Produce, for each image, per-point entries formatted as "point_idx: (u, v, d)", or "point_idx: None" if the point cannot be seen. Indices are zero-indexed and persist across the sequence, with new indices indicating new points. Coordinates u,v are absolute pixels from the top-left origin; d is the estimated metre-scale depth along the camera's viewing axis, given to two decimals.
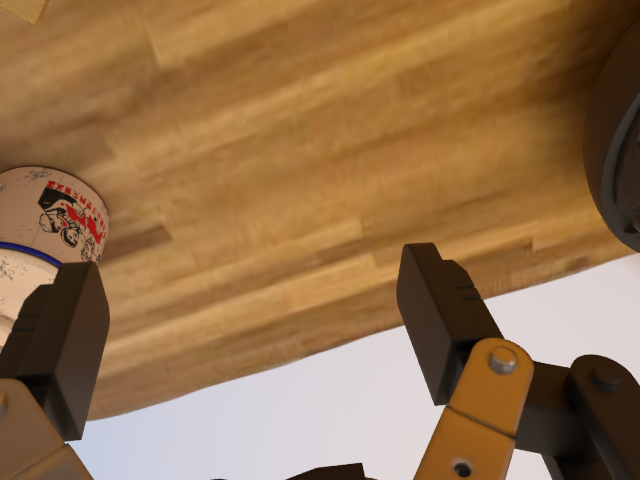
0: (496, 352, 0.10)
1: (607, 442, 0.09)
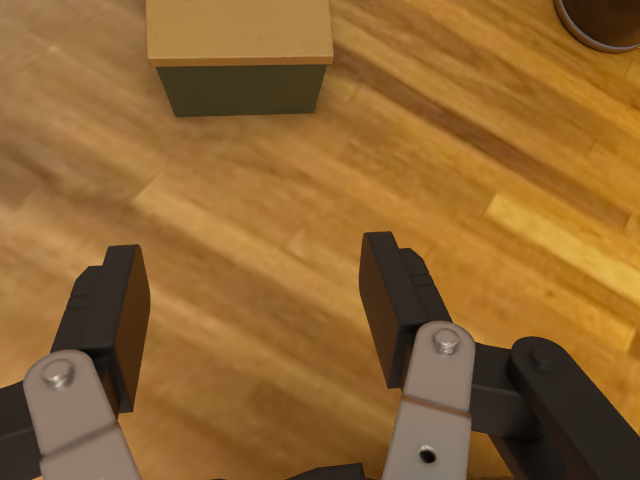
0: (439, 335, 0.11)
1: (555, 422, 0.09)
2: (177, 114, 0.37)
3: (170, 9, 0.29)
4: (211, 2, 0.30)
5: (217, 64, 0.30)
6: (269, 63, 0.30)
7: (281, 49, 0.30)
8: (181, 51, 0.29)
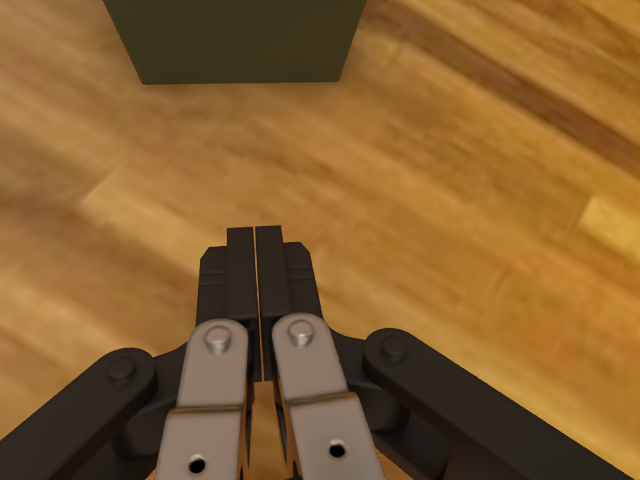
0: (293, 329, 0.11)
1: (428, 408, 0.10)
2: (144, 80, 0.26)
3: None
4: None
5: None
6: None
7: None
8: None
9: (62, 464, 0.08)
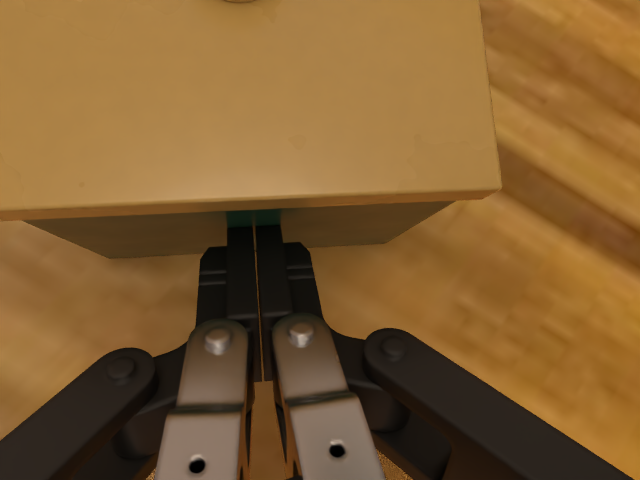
0: (294, 329, 0.11)
1: (428, 409, 0.10)
2: (110, 256, 0.18)
3: (40, 59, 0.10)
4: (162, 38, 0.10)
5: (178, 211, 0.11)
6: (322, 204, 0.11)
7: (359, 172, 0.11)
8: (68, 186, 0.10)
9: (62, 465, 0.08)
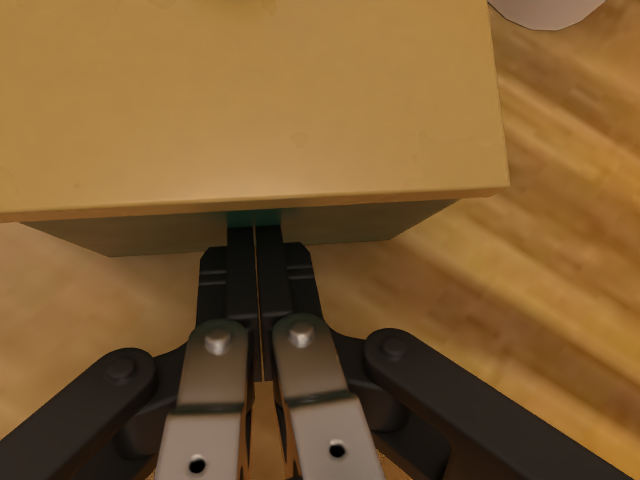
0: (293, 329, 0.11)
1: (429, 408, 0.10)
2: (110, 255, 0.18)
3: (32, 56, 0.10)
4: (158, 33, 0.10)
5: (177, 211, 0.10)
6: (325, 204, 0.11)
7: (363, 171, 0.10)
8: (63, 187, 0.09)
9: (62, 464, 0.08)
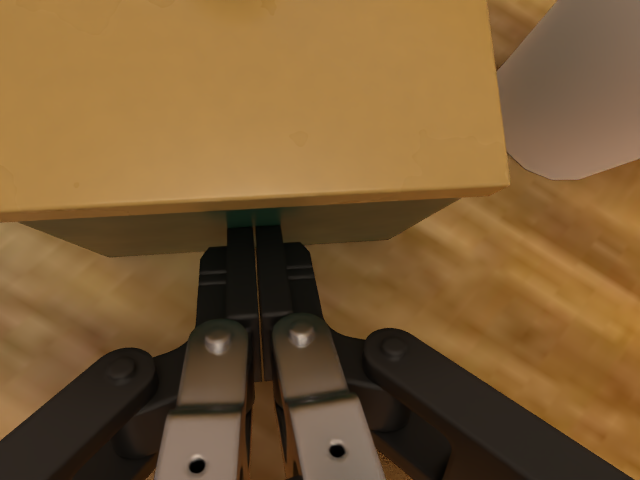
0: (294, 329, 0.11)
1: (428, 408, 0.10)
2: (109, 255, 0.18)
3: (32, 55, 0.10)
4: (158, 32, 0.10)
5: (177, 211, 0.10)
6: (325, 203, 0.11)
7: (363, 169, 0.10)
8: (62, 186, 0.09)
9: (62, 464, 0.08)
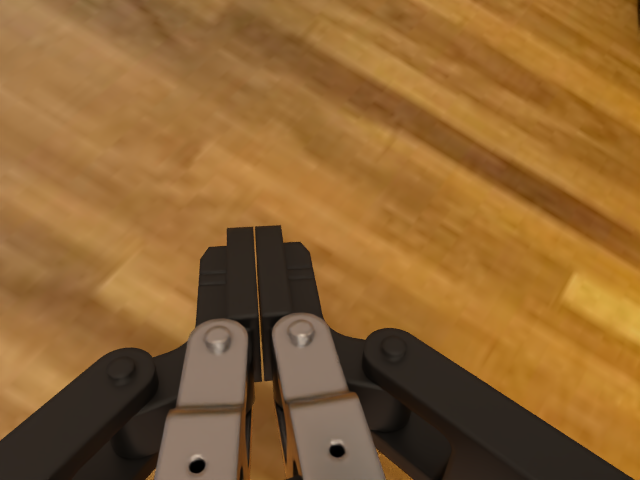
0: (293, 329, 0.11)
1: (429, 408, 0.10)
2: None
3: None
4: None
5: None
6: None
7: None
8: None
9: (62, 465, 0.08)
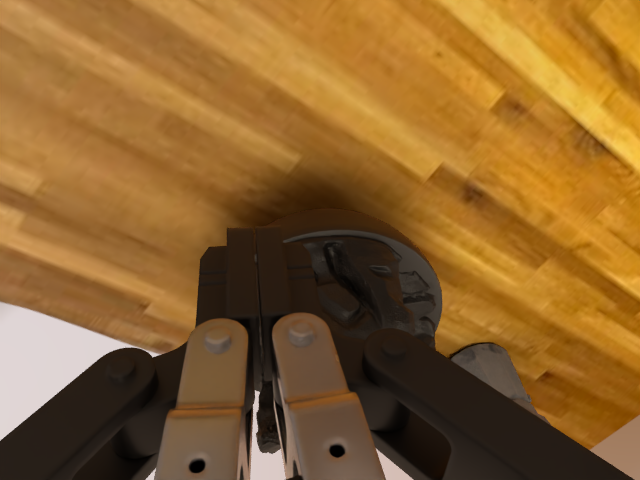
0: (293, 329, 0.11)
1: (428, 408, 0.10)
2: None
3: None
4: None
5: None
6: None
7: None
8: None
9: (62, 464, 0.08)
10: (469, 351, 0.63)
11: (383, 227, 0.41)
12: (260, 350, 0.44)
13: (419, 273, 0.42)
